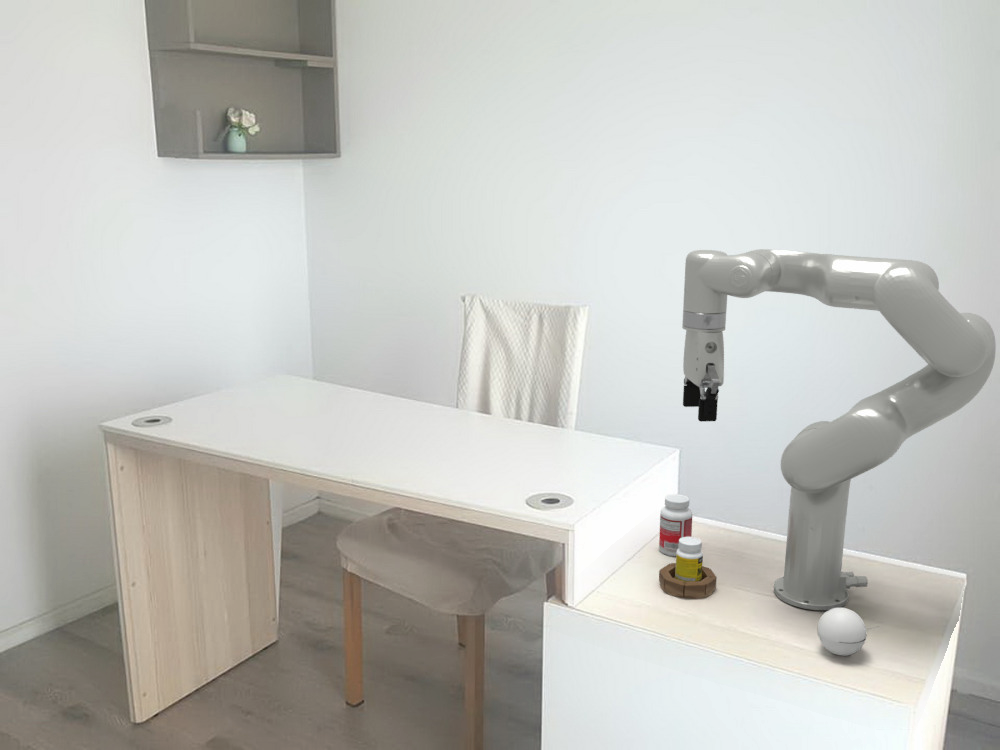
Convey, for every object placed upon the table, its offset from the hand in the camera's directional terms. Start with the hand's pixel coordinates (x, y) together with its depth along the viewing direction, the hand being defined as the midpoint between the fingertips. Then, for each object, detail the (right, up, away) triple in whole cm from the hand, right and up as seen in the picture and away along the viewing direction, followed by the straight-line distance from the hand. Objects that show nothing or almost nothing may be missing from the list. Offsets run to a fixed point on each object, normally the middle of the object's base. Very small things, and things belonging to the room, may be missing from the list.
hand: (699, 413), depth 178 cm
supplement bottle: (-2, -31, -1) cm, 31 cm away
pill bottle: (-2, -28, +15) cm, 32 cm away
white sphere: (+19, -37, -23) cm, 48 cm away
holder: (-2, -31, -1) cm, 31 cm away
